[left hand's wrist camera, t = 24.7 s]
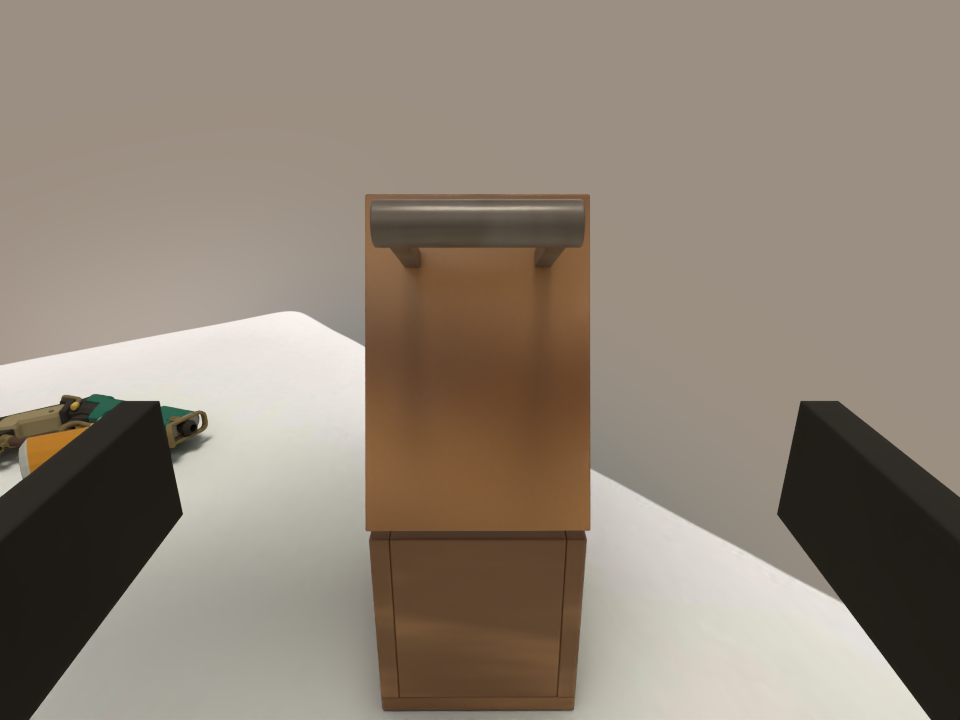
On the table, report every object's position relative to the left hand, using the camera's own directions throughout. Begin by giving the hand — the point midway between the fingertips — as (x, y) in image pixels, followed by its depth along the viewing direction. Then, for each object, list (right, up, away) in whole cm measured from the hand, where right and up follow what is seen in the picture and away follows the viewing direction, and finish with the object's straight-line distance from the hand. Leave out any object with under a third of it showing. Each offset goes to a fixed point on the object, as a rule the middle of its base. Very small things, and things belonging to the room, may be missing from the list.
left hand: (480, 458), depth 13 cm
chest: (0, -13, +23) cm, 26 cm away
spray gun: (-34, -6, +41) cm, 53 cm away
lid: (0, +2, +14) cm, 14 cm away
